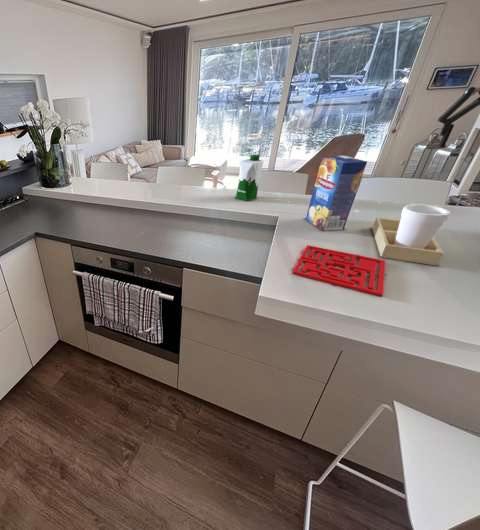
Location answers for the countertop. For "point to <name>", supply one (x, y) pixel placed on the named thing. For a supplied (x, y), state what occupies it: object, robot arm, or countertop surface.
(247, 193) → the milk carton
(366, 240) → the countertop surface
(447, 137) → the robot arm
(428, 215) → the foam cup
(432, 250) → the divided tray
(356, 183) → the juice carton
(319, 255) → the maze puzzle
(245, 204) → the countertop surface
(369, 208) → the countertop surface
